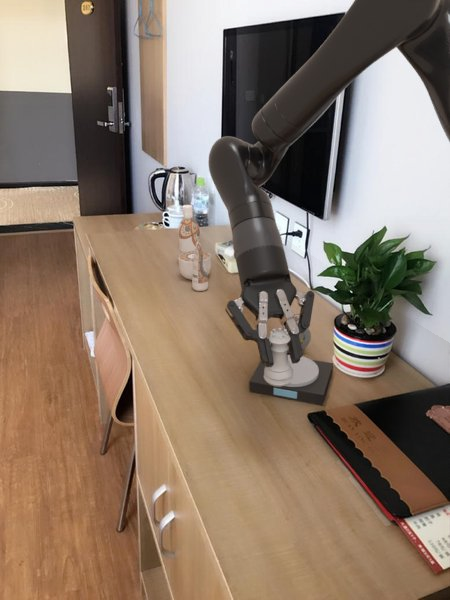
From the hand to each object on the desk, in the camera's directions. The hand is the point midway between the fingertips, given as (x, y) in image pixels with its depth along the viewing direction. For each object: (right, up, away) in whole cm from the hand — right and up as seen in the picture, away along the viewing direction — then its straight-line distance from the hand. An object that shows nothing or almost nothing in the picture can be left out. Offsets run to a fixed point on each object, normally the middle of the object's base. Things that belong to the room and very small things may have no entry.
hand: (283, 363), depth 71 cm
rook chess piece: (0, -3, +4) cm, 5 cm away
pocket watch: (+6, -2, +38) cm, 38 cm away
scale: (+5, -7, +26) cm, 28 cm away
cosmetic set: (-17, +16, +76) cm, 80 cm away
